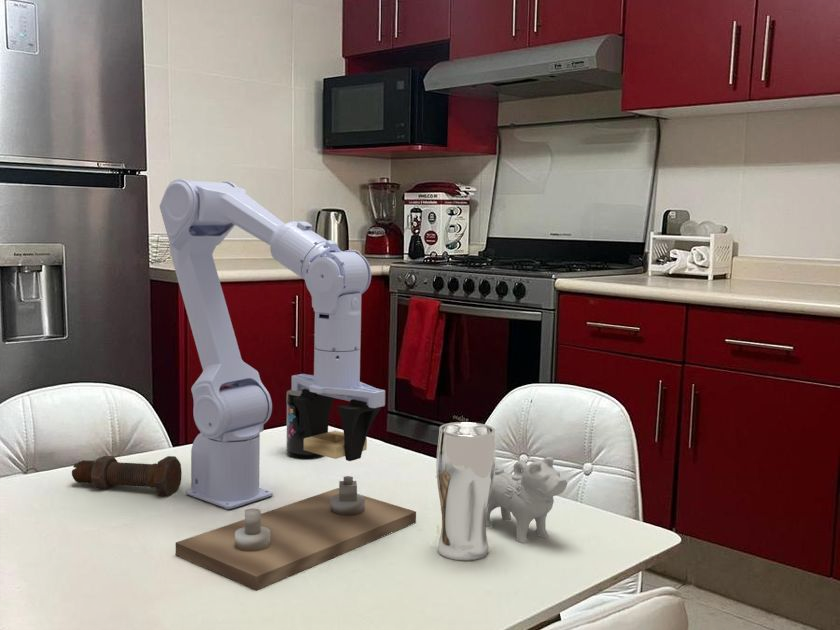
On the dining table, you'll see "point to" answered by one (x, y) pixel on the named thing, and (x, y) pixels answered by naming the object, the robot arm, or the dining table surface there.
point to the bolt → (130, 474)
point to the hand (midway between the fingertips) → (335, 454)
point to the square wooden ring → (328, 444)
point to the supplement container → (296, 430)
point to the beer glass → (465, 488)
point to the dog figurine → (526, 495)
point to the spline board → (294, 535)
